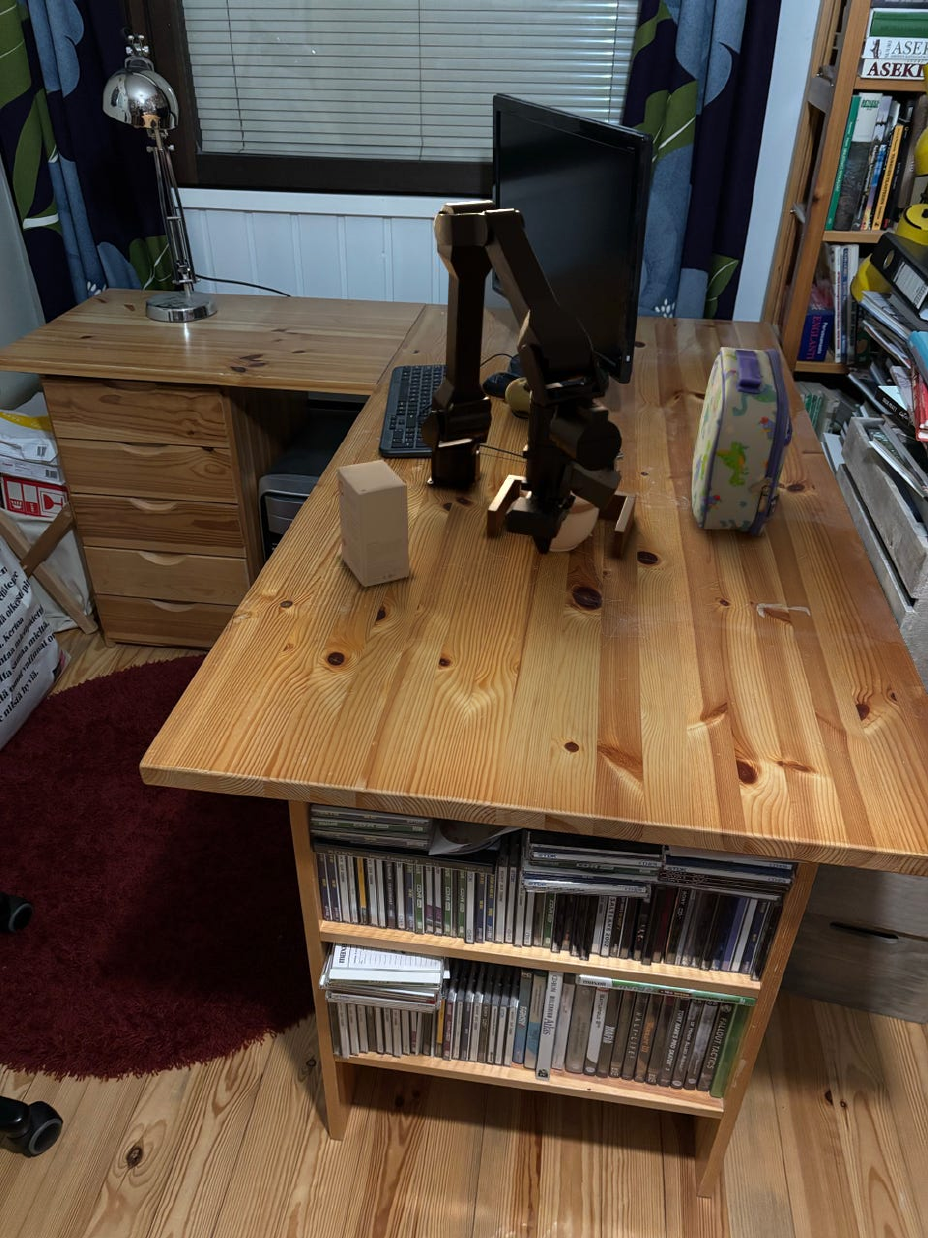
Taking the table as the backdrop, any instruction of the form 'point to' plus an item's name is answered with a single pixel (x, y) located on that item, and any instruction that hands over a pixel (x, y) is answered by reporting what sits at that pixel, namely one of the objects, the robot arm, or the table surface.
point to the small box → (373, 522)
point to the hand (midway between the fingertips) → (543, 553)
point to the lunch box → (741, 442)
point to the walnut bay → (616, 510)
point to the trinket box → (573, 524)
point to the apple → (518, 395)
